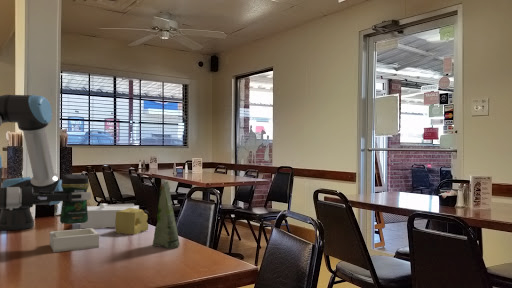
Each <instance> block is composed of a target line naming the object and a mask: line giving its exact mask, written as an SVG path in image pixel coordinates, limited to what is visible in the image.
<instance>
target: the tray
mask: <svg viewBox="0 0 512 288" xmlns="http://www.w3.org/2000/svg"><path fill="white" fill-rule="evenodd" d="M49 246H50V247H51V250H52V252H53V253H59V252H60V253H61V252H68V251H78V250H87V249H95V248H96V249H97V248H100V233H99V232H97V231H96V230H95V228H86V229H81V228H78V229H69V230H68V229H67V230H66V229H65V230H56V231H50V232H49Z"/></svg>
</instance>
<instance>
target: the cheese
mask: <svg viewBox="0 0 512 288" xmlns="http://www.w3.org/2000/svg"><path fill="white" fill-rule="evenodd" d="M148 218H149V217H148V214H147V213H145V211H144V210H143V209H140V208H139V209H135V208H128V209H125V210H121V211H117V212H116V219H115V228H114V229H115V233H116V234H120V233H124V234H123V235H131V234H135V235H138V234H140V233H144V232H143V231H145V232H147V231H146V230H149V223H148ZM137 233H138V234H137Z"/></svg>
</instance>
